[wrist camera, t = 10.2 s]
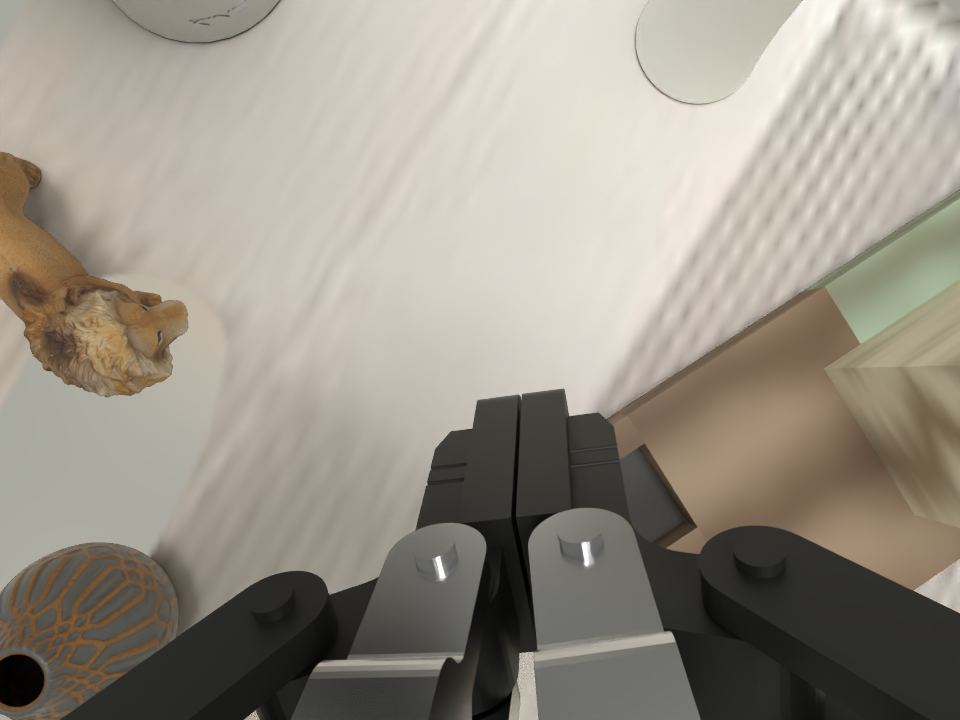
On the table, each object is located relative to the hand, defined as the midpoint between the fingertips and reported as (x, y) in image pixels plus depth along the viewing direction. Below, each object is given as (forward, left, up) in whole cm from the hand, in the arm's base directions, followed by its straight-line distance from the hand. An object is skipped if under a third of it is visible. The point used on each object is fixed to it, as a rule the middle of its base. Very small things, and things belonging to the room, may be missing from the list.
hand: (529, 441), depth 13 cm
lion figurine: (-14, -11, -23) cm, 29 cm away
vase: (-1, -18, -23) cm, 29 cm away
